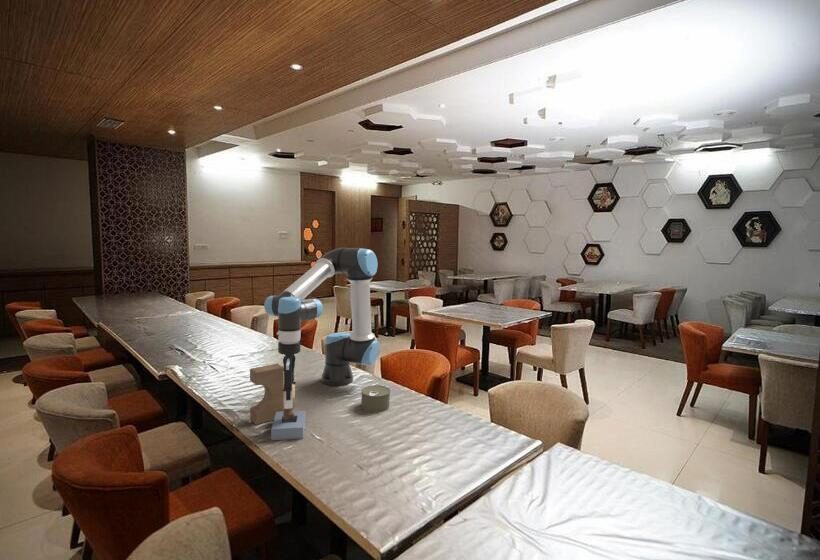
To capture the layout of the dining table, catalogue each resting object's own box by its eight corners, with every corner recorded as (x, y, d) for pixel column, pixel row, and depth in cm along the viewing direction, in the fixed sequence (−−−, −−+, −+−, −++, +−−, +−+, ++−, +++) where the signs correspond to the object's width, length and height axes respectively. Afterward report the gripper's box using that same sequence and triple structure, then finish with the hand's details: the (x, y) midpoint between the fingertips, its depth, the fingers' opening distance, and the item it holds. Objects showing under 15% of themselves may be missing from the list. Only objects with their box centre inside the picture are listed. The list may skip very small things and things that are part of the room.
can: (393, 403, 176) (394, 387, 175) (384, 414, 164) (384, 397, 164) (367, 399, 179) (367, 383, 178) (356, 410, 167) (356, 393, 167)
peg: (295, 415, 150) (295, 383, 149) (294, 420, 146) (294, 387, 145) (283, 415, 150) (283, 383, 148) (282, 420, 146) (282, 387, 144)
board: (305, 420, 156) (305, 410, 156) (303, 438, 143) (303, 427, 142) (276, 421, 154) (276, 411, 154) (271, 440, 141) (271, 429, 140)
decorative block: (255, 425, 151) (254, 372, 149) (249, 419, 155) (249, 368, 153) (284, 417, 158) (284, 366, 156) (278, 412, 163) (278, 363, 160)
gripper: (281, 335, 153) (280, 396, 155) (275, 348, 136) (275, 416, 139) (301, 335, 154) (301, 395, 156) (298, 347, 138) (298, 415, 140)
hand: (289, 405), depth 148 cm, fingers closed on peg, 4 cm apart
